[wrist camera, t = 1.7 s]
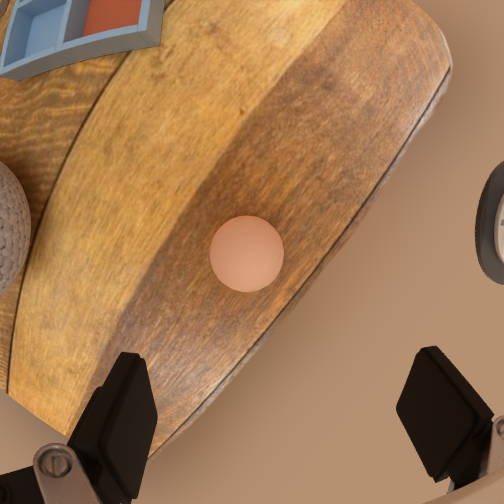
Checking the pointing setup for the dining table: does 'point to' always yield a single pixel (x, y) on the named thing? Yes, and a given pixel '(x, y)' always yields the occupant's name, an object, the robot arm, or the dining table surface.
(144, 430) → the robot arm
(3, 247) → the decorative ball
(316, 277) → the dining table surface
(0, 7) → the alarm clock
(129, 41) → the grid
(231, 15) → the dining table surface
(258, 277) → the egg
